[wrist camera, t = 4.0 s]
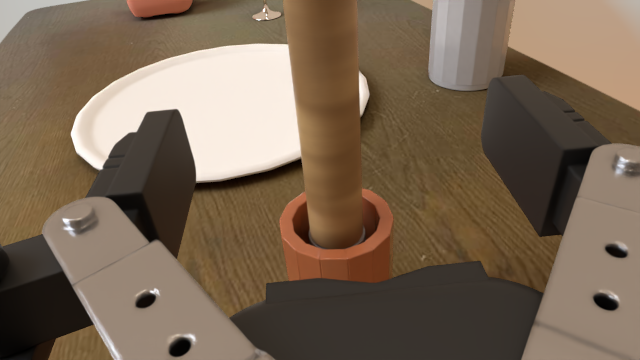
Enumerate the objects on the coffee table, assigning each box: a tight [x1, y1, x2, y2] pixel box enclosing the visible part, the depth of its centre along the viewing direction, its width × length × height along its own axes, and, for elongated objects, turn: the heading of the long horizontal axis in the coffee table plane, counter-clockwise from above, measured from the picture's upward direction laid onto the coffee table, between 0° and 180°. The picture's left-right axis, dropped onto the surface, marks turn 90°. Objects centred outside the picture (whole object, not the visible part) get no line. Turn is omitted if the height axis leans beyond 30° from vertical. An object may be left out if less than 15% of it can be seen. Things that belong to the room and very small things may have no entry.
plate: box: [71, 44, 370, 183], centre depth 47 cm, size 29×29×1 cm
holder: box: [279, 188, 394, 283], centre depth 23 cm, size 5×5×8 cm
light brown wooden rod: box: [283, 0, 366, 249], centre depth 19 cm, size 3×3×20 cm
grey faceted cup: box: [428, 0, 515, 91], centre depth 46 cm, size 7×7×11 cm
